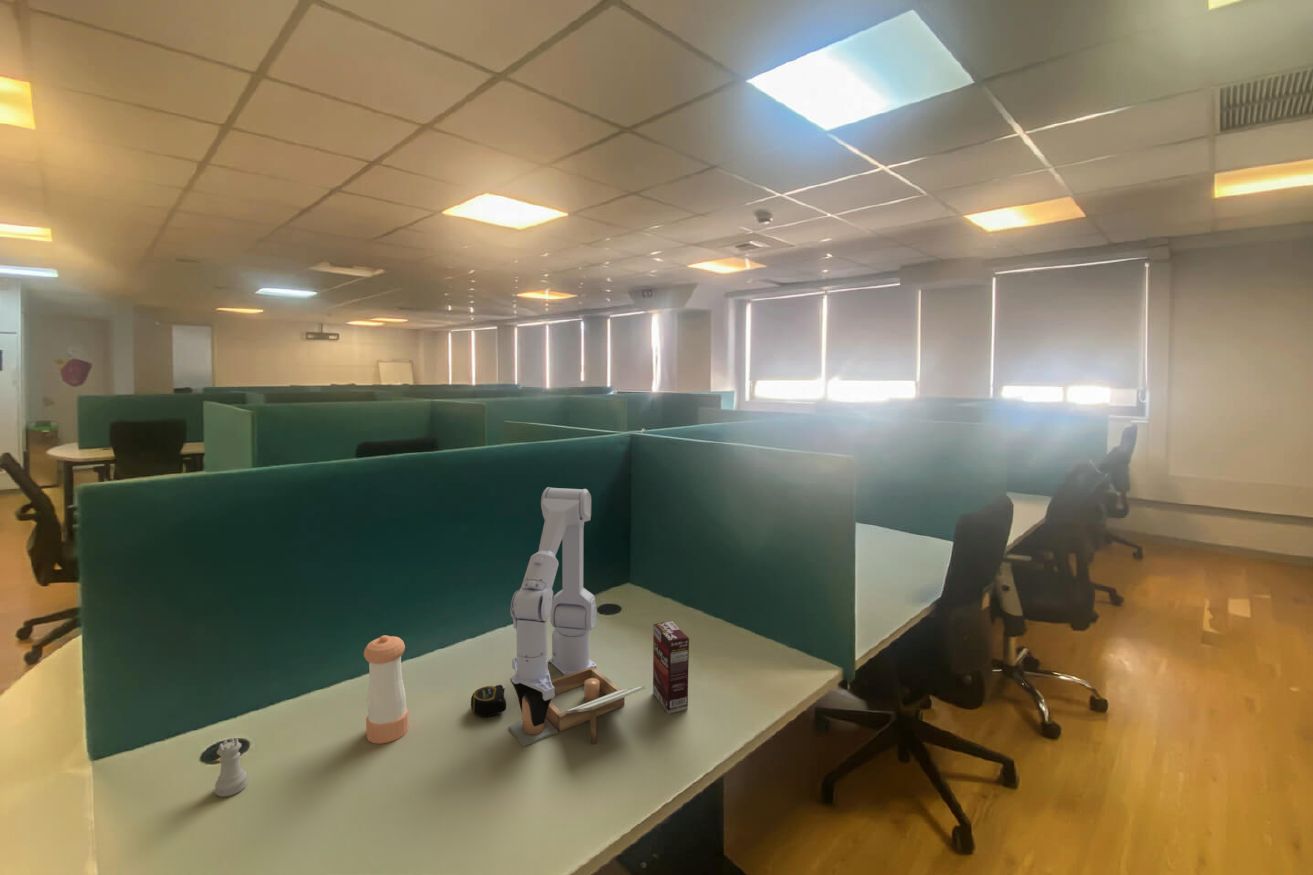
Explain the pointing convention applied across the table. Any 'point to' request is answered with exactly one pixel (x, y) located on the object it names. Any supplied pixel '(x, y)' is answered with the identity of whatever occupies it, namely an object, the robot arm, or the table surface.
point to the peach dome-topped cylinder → (529, 720)
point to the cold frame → (589, 709)
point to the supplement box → (670, 666)
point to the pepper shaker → (386, 690)
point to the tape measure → (488, 700)
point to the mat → (529, 739)
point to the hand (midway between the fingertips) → (532, 717)
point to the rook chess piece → (230, 770)
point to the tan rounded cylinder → (591, 689)
